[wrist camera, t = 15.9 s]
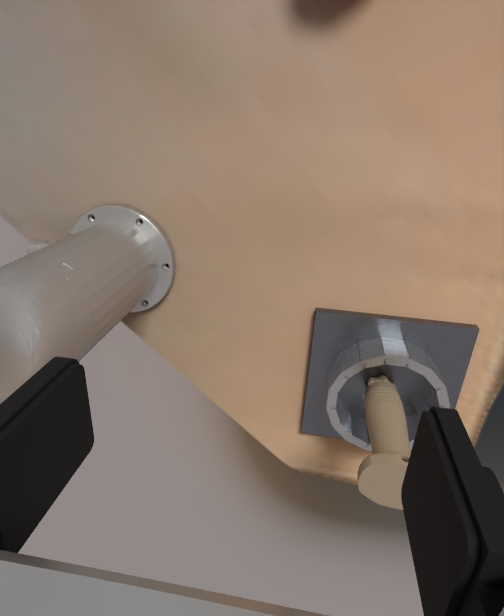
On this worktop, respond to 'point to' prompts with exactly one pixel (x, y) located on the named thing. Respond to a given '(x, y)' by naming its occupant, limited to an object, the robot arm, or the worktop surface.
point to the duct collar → (381, 369)
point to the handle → (384, 444)
